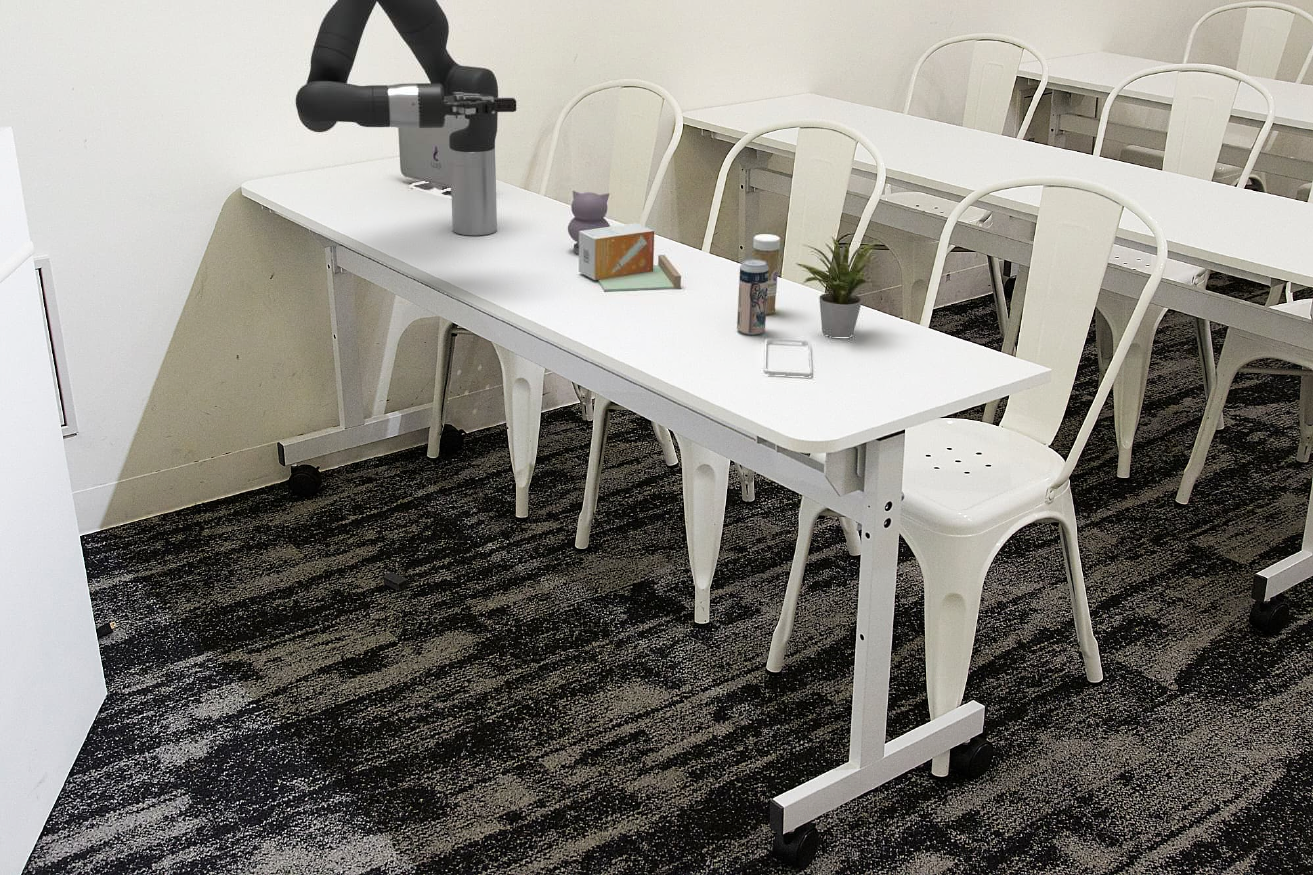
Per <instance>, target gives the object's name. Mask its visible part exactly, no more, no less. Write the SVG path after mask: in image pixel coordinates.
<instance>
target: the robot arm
mask: <svg viewBox="0 0 1313 875" xmlns="http://www.w3.org/2000/svg"><path fill="white" fill-rule="evenodd" d="M377 3H378V5H379V6H380V7H381V9H382V10H383V11H384V13H385V15H386V16H387V18H388V19H389V20H390V23H392V25H393V27H394V28H395V30H396V31H397V33H398V34H399V36H400V37H401V39H403V41H404V42H405V43H406V45H407V46H408V48H409V49H410V50H411V52H412V54H413V55H414V57H415V58H416V60H417V62H418V63H419V65H420V66H421V68H422V69H423V71H424V73H425V75H426V77H427V78H428V80H429V83H428V82H427V83H426V82H424V83H423V82H422V83H421V82H420V83H412V82H411V83H398V84H397V83H395V84H389V85H388V84H387V85H386V84H385V85H384V84H383V85H379V84H377V85H375V84H374V85H373V84H371V85H368V84H367V85H358V84H352V83H348V80H349V77H350V74H351V71H352V69H353V66H354V63H355V60H356V56H357V54H358V50H359V46H360V44H361V40H362V36H363V34H364V31H365V29H366V25H367V24H368V21H369V18H370V16H371V14H372V12H373V10H374V8H375V6H376V4H377ZM449 34H450V27H449V20H448V18H447V16H446V14H445V12H444V11H443V9H442V7H441V6H440V3H439V2H438V1H437V0H337V1H335V3H334V4H333V5H332V6H331V7H330V9H329V10H328V12H327V13H326V14H325V15H324V17H323V19H322V22H321V23H320V26H319V29H318V31H317V35H316V38H315V41H314V42H315V43H314V45H313V47H312V52H311V57H310V70H309V73H308V77H307V80H306V83H305V84H304V85H302V86H301V87H300V88H299V89H298V91H297V93H296V95H295V106H296V110H297V115H298V118H299V120H300V122H301V124H302V125H303V127H304V128H306V129H308V130H309V131H311V132H314V133H325V132H329V131H330V130H331V129H333V128H334V127H335V125H337V123H339V122H340V123H341V122H342V123H354V124H355V123H356V125H358V126H361V127H363V128H396V129H398V128H442V127H444V124H445V116H446V115H453V116H455V118H456V119H464V118H465V119H469V125H468V126H467V127H466V128H464V129H461V130H458V131H455V132H453V133H451V134H450V137H449V147H450V171H451V191H450V195H451V197H452V199H451V219H452V220H451V221H452V231H453V232H454V233H456V234H459V235H461V236H462V235H463V236H486V235H491V234H493V233H495V232H497V230H498V220H497V219H498V216H497V215H498V213H497V212H498V210H497V209H498V208H497V207H498V206H497V175H496V174H497V173H496V171H497V170H496V138H497V137H496V136H497V135H498V134H497V133H498V116H499V114H498V113H514V112H516V111H517V100H516V98H514V97H499V86H498V81H497V80H498V79H497V78H496V76H495V73H494V72H493V71H492V70H490V69H489V68H485V67H479V66H478V67H477V66H467V65H460V64H459V63H457V62H456V61H455V60H454V59H453V57H452V56H451V55H450V52H449V51H448V50H447V44H448V39H449Z"/></svg>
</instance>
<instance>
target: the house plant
mask: <svg viewBox="0 0 1313 875" xmlns="http://www.w3.org/2000/svg"><path fill="white" fill-rule="evenodd" d="M831 238H832V239H831V240H832V242H833V243H832V244H833V248H834V249H833V248H831V247H830V245H828V244H827V243H824V244H825V246H826V247H827V248H828V249H829V251H830V253H831V255H832V257H833V260H834V261H835V264H834V263H833V262H832V261H831V260H830V258H829V257H828V256H827V255H826V254H825V253H824V252H822V251H821V250H819V249H818V248H816V247H812V246H810V245H807V244H801V245H802V246H804V247H807V248H811V249H813V251H812V250H811V253H815V254H817V255H818V256H817V258H818V259H819V260H820V261H821V262H822V263H823V264H824V266H825V267H826V268H827V270H825V271H823V270H821V269H819V268H816V267H814V266H811V265H807V264H802V263H795V262H794V263H795V264H796V265H797V266H799V267H802V268H804V269H806V270H804V269H803V270H802V271H804V272H807V273H809V274H811V275H812V276H810V277H809V276H808V277H807V278H805V279H804V281H803V282H802V284H805V283H808V282H812V281H813V282H814V281H818V282H819V284H821V285H822V286H823V287H824V288H825V289H826V291H827V292H824V293H822V294H821V295H820V296H819V297H818V298H819V299H818V300H819V309H820V318H821V319H820V321H821V331H822V332H821V334H822V333H823V334H825V335H828V336H831V337H850V336H851V335H854V333H855V328H856V325H857V321H858V318H859V315H860V311H861V306H862V304H863V303H862V302H863V298H861V296H859V295H858V294H854V291H856V289H857V288H859V287H860V286H861V285H864V284H867V283H869V281H867V279H862V277H864V276H866V275H867V276H869V274H868V273H864V272H862V271H863V270H864V269H865V268H866V266H867V265H868V264H870V263H871V262H872V261H871V260H872V259H873V258H874V257H875V256H876V254H874V255H873V256H872V257H871V258H870V259H869V260H868V261H867V262H866V263H864V262H865V261H866V260H867V258H868V257H869V255H870V254H871V252H872V251H873V249H872V247H873V246H874V245H876V244H879V242H880V241H874V242H872V243H869V244H864V245H861V246H859V247H858V248H856V250H855V251H854V253H853V254H852V257H851V258H850V257H849V256H850V243H849V241H848V242H847V243H846V247H845V246H842V249H843V250H842V252H843V254H842V255H843V256H842V257H841V249H840V245H839V243H838V241H837V240H836V239H835V237H833V236H831ZM862 248H863V249H862ZM861 249H862V250H861ZM815 251H816V252H815ZM859 251H860V252H859ZM857 254H858V255H857ZM811 255H813V256H814V254H811ZM856 255H857V257H856ZM819 256H822V257H819ZM855 257H856V259H855ZM841 258H842V259H841ZM849 259H850V260H849ZM854 259H855V260H854ZM826 262H827V263H828V264H827V263H826ZM853 262H854V264H853V266H852V263H853ZM863 263H864V264H863ZM835 265H836V266H835ZM851 266H852V268H851ZM836 267H837V268H836ZM850 268H851V270H850ZM870 283H872V284H875V285H878V282H876V281H870ZM827 287H828V288H827ZM823 334H822V335H823ZM850 338H851V337H850Z"/></svg>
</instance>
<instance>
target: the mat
mask: <svg viewBox="0 0 1313 875" xmlns="http://www.w3.org/2000/svg"><path fill="white" fill-rule="evenodd" d="M657 259H658V260H657V261H658V262H657V264H653V271H650V272H644V273H637V274H631V275H625V276H619V277H612V278H606V279H599V280H597V282H598V283H599V285H600V286H601V288H602V290H603V292H623V291H624V292H626V291H627V292H628V291H631V292H632V291H650V290H652V291H653V290H674V289H675V290H676V289H681V285H682V284H681V282H682V275H681V274H680V273H679V272H678V270H677V269H676V268H675V266H674V265H673V264H672V263H671V262H670V260H669V259H668V257H667V256H666V255H665V254H658V256H657Z"/></svg>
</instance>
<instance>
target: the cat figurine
mask: <svg viewBox="0 0 1313 875" xmlns="http://www.w3.org/2000/svg"><path fill="white" fill-rule="evenodd" d="M609 197H610V192H609V193H604V194H603V193H602V194H597V193H595V192H589V191H588V192H583V193H581V192H578V191H575V190H572V199H573V200H572V203H571V208H570V209H571V213H572V215H573V216H574V217H572V219H571V220H570V222H569V223H568V225H567V232H568V235H569V236H570V237H571V239H572V240H573V241H574V242H575V243H574V245H573V253H574V254H575V255H577V256H579V231H584V230H591V229H597V228H604V227H611V225H610V223H609V222H608V221H607V220H606V218H605V216H606V214H607V212H608V204H607V202H608V201H609Z"/></svg>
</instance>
